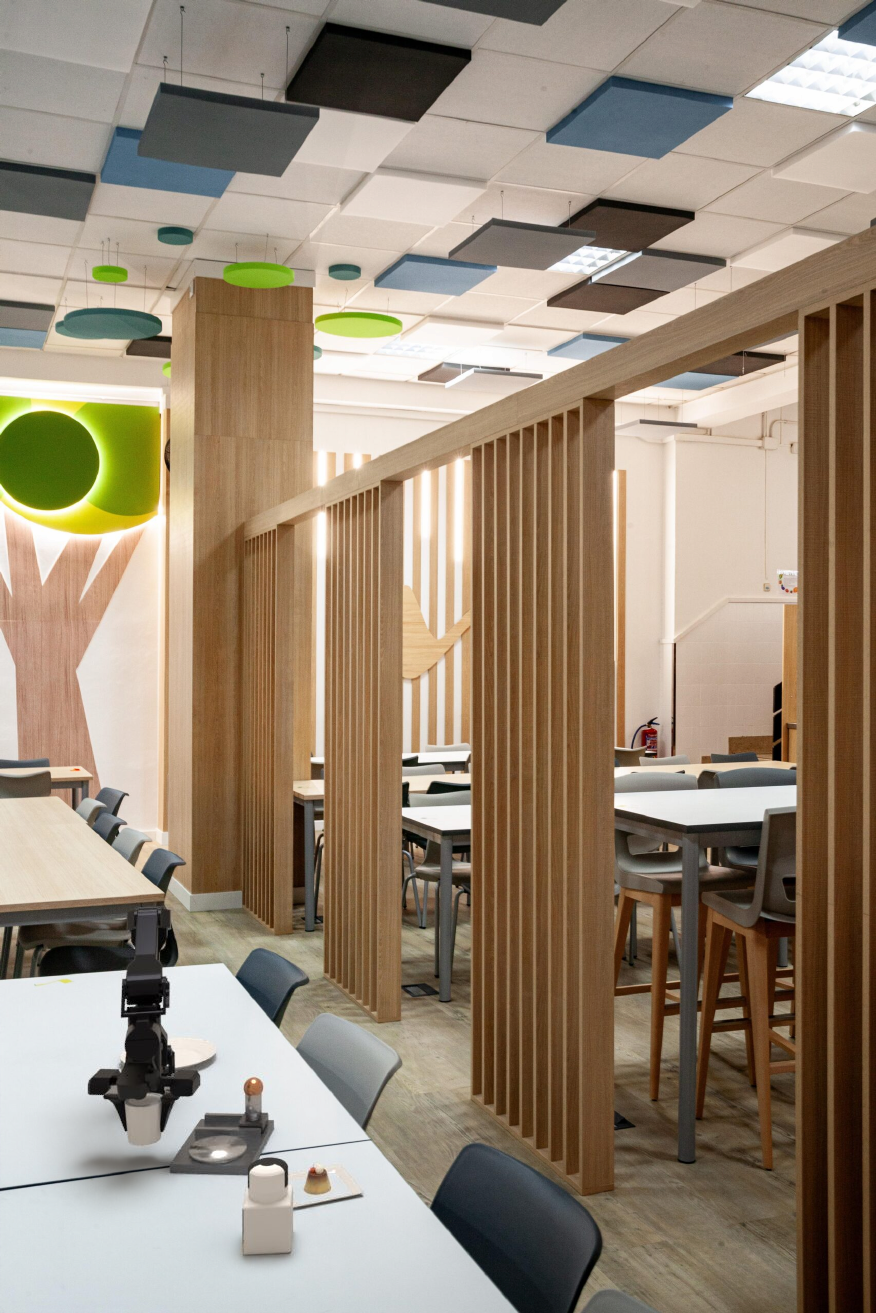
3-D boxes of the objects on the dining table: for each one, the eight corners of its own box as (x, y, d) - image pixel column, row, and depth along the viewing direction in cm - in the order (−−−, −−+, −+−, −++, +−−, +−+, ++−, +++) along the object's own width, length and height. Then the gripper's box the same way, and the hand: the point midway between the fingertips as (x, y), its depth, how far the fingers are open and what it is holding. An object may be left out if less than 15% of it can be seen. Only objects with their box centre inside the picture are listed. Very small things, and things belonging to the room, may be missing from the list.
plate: (100, 1071, 246) (100, 1061, 246) (158, 1042, 266) (158, 1033, 266) (180, 1084, 238) (180, 1073, 238) (234, 1053, 258) (234, 1043, 258)
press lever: (238, 1131, 208) (238, 1082, 208) (244, 1121, 213) (244, 1073, 213) (262, 1131, 208) (262, 1082, 208) (268, 1121, 213) (267, 1073, 213)
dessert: (272, 1183, 192) (272, 1155, 192) (340, 1170, 197) (340, 1142, 197) (292, 1214, 181) (292, 1183, 181) (363, 1199, 186) (363, 1170, 186)
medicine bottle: (246, 1232, 174) (246, 1153, 174) (293, 1229, 175) (292, 1151, 175) (242, 1255, 167) (241, 1173, 167) (291, 1253, 167) (290, 1171, 168)
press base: (169, 1172, 195) (169, 1157, 195) (200, 1126, 215) (200, 1112, 215) (250, 1174, 194) (250, 1158, 194) (273, 1127, 214) (273, 1113, 214)
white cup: (154, 1148, 196) (154, 1107, 196) (117, 1145, 198) (117, 1104, 198) (171, 1132, 203) (171, 1093, 203) (135, 1129, 204) (135, 1090, 204)
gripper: (75, 1057, 193) (75, 1149, 193) (183, 1058, 192) (183, 1151, 192) (99, 1036, 204) (99, 1123, 204) (201, 1037, 203) (201, 1125, 203)
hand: (144, 1130), depth 200 cm, fingers closed on white cup, 6 cm apart
